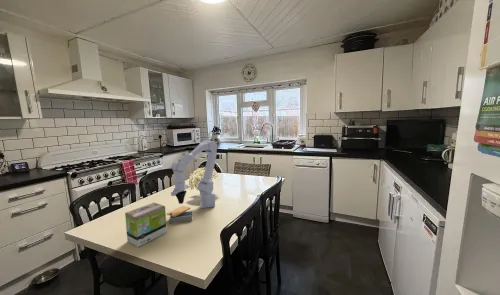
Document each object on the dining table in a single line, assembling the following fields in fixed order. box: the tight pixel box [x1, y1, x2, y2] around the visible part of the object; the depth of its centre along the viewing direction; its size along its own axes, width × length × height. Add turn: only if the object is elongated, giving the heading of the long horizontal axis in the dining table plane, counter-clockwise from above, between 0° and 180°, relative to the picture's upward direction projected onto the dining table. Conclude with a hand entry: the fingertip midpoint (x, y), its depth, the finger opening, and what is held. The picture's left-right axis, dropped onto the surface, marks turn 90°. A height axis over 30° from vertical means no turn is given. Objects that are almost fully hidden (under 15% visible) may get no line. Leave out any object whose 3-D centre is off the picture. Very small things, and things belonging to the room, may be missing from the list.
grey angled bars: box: [169, 210, 193, 225], centre depth 117 cm, size 12×7×3 cm, turn 105°
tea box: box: [124, 202, 167, 248], centre depth 99 cm, size 15×10×15 cm
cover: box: [166, 205, 191, 217], centre depth 120 cm, size 12×7×1 cm, turn 150°
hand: (181, 203), depth 121 cm, fingers closed
